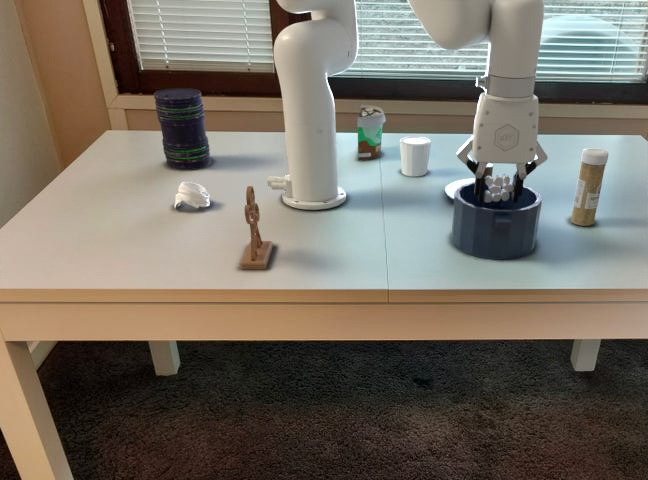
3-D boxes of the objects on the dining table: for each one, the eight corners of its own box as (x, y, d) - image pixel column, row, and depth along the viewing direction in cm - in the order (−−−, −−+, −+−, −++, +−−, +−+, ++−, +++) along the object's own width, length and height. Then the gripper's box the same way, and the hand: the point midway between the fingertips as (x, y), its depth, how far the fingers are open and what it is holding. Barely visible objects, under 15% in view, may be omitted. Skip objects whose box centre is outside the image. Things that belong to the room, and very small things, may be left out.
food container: (384, 163, 149) (384, 118, 143) (357, 162, 149) (357, 117, 143) (386, 147, 159) (386, 104, 153) (361, 146, 159) (360, 104, 153)
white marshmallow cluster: (483, 202, 109) (485, 176, 107) (481, 199, 110) (484, 173, 108) (512, 202, 110) (515, 176, 107) (510, 199, 111) (513, 173, 108)
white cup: (426, 178, 141) (428, 146, 137) (396, 175, 142) (396, 143, 138) (431, 168, 146) (433, 137, 142) (402, 166, 147) (402, 134, 143)
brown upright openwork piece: (250, 245, 111) (242, 177, 104) (273, 245, 111) (266, 177, 104) (240, 269, 103) (231, 197, 97) (265, 269, 103) (257, 197, 97)
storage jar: (192, 153, 151) (181, 85, 143) (220, 162, 147) (211, 92, 138) (156, 164, 145) (143, 93, 136) (185, 173, 140) (173, 101, 132)
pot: (454, 265, 106) (458, 216, 101) (449, 218, 123) (452, 174, 118) (543, 268, 106) (551, 219, 101) (525, 220, 123) (532, 176, 118)
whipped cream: (179, 202, 128) (172, 178, 126) (213, 198, 129) (207, 174, 127) (173, 215, 122) (166, 189, 119) (209, 210, 122) (203, 185, 120)
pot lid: (446, 209, 126) (448, 176, 122) (443, 182, 139) (445, 151, 135) (525, 212, 126) (530, 179, 122) (515, 184, 139) (519, 153, 135)
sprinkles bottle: (593, 228, 120) (608, 156, 113) (568, 224, 121) (581, 153, 114) (595, 219, 124) (609, 148, 116) (570, 216, 125) (583, 145, 117)
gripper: (455, 90, 97) (448, 206, 107) (569, 93, 97) (550, 209, 107) (453, 79, 103) (446, 190, 113) (560, 82, 103) (543, 193, 113)
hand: (497, 198), depth 110 cm, fingers closed on white marshmallow cluster, 5 cm apart
